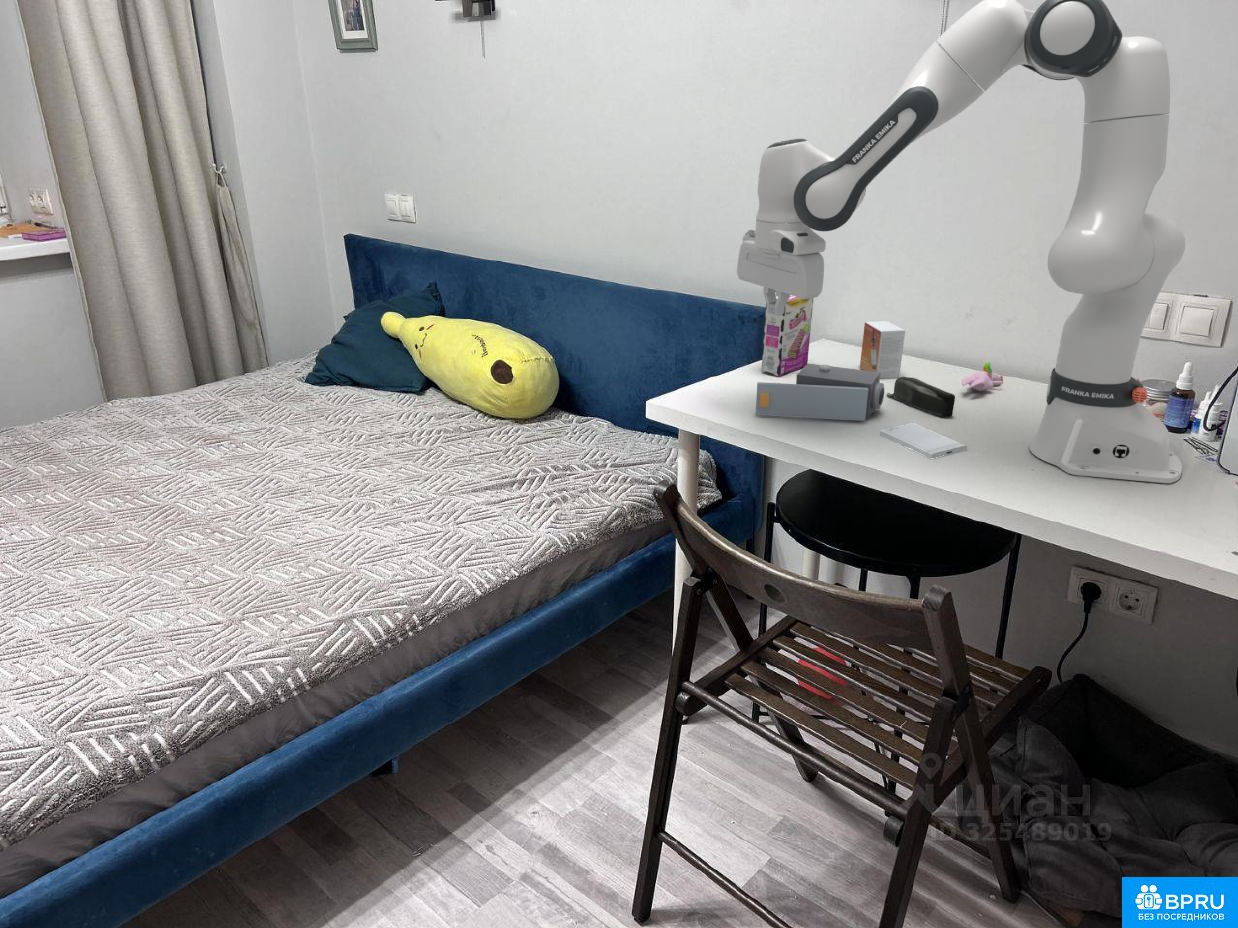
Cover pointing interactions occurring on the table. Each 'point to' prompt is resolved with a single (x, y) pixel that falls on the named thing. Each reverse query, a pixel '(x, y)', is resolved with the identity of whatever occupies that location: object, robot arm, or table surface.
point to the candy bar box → (787, 337)
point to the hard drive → (922, 440)
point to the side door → (811, 401)
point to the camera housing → (845, 381)
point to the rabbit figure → (983, 379)
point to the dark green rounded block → (923, 396)
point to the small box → (882, 348)
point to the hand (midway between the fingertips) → (775, 313)
